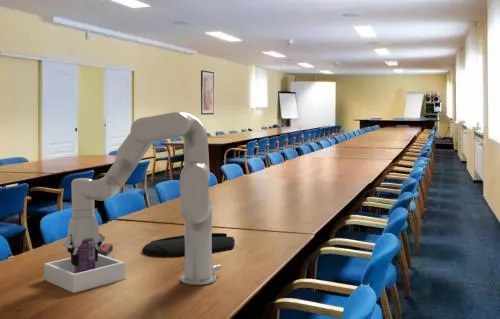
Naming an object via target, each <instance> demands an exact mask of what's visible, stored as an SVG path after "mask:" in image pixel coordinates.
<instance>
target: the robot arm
mask: <svg viewBox="0 0 500 319" xmlns="http://www.w3.org/2000/svg"><path fill="white" fill-rule="evenodd" d="M176 138H182V140H183V155H184V157H183V158H184V159H183V161H184V165H183V168H182V169H181V172H180V175H179V197H180V200H179V201H180V202H179V203H180V213H181V217H183V219H184V235H185V256H184V273H183V274H182V275H181V276H180V282H182V283H183V284H186V285H191V286H202V285H203V286H205V285H209V284H211V283H214V282H215V281H216V280H217V275H216V274H215V272H216V271H220V270H222V265H221V264H216V265H214V264H212V263H213V260H212V259H213V258H212V257H213V256H212V255H213V253H212V233H213V231H212V229H213V224H212V223H213V202H212V199H211V197H210V196H209V193H210V192H209V191H210V190H209V189H210V188H209V181H210V178H211V172H210V159H209V158H210V155H209V142H208V140H209V139H208V133H207V131H206V128H205V126H204V125H203V123H202V122H201V120H199V118H197V117H196V116H194V115H192V114H191V113H188V112H185V111H173V112H168V113H162V114H157V115H153V116H151V115H150V116H143V117H139V118H137V119H135V120H134V121H133V123H132V125H131V127H130V133H129V134H128V135H127V137H125V139H124V140H123V142H122V143H121V144H120V145H119V147H118V148H117V150H116V157H115V159H114V162H113V163H112V165H111V167H110V168H109V169H108V171H107V172H106V173H105V174H104V176H103V177H101V178H98V179H92V178H88V177H80V178H74V179H72V181H71V184H70V185H71V210H72V211H71V212H72V213H71V214H72V216H71V217H70V218H69V223H68V227H67V229H68V230H67V239H66V240H65V241H64V242H63V243H62V245H61V246H62V247H63V249H64V250H66V251H67V252H68V253H69V254H70V258H71V263H72V265H74V266H78V255H77V254H76V253H77V251H78V247H80V245H81V243H82V242H83V241H82V240H88V239H92V238H93V239H92V240H93V241H94V242H95V261H98V250H99V247H100V246H101V245H102V243H104V241H105V239H106V237H105V236H104V235H103V234H101V233H100V230H99V228H100V227H99V223H98V218H97V216H96V213H97V212H98V208H97V207H96V208H95V201H99V202H100V201H101V202H103V201H106V200H109V199H111V198H112V197H114V196H115V195H117V194H118V193H119V191H120V190H121V189H122V187H123V186H124V185H125V183H126V182H127V181H128V179H129V178H130V177H131V175H132V173H133V172H134V170H136V168H137V166H138V164H140V162H141V160H142V159H143V158H144V156H145V155H146V154H147V152H148V151H149V149H150V148H151V147H152V146H153V144H154V143H155V142H160V141H166V140H171V139H176ZM70 246H71V247H70ZM74 247H75V248H74Z"/></svg>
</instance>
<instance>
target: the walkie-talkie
mask: <svg viewBox="0 0 500 319" xmlns="http://www.w3.org/2000/svg"><path fill="white" fill-rule="evenodd" d="M113 245H114V244H112V243H106V242H102V245H101V246H100V247H99V250H98V254H101V255H104V256H107V257H108V255H110V253H111V252H112V251H113V250H114V249H113V248H114V247H113Z"/></svg>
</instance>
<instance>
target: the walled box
mask: <svg viewBox="0 0 500 319" xmlns="http://www.w3.org/2000/svg"><path fill="white" fill-rule="evenodd" d="M95 264H96V269H92V270H88V271H83V272H79V273H78V272H76V271H75V266H74V265H72V263H71V257H67V258H63V259H59V260H53V261H50V262H49V261H48V262H45V263H43V265H44V280H45V281H46V282H48V283H51V284H53V285H54V286H55V285H56V286H58V287H60V288H62V289H65V291H68V292H71V293H73V294H75V293H78V292H81V291H82V292H83V291H86V290H89V289H93V288H97V287H100V286H104V285H108V284H113V283H115V282H119V281H120V282H121V281H123V280H126V262H124V261H121V260H118V259H116V258H112V257H110V256H108V255H107V256H104V255H101V254H98V261H95Z"/></svg>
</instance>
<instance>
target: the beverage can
mask: <svg viewBox="0 0 500 319" xmlns="http://www.w3.org/2000/svg"><path fill="white" fill-rule="evenodd" d="M92 239H93V238H92ZM92 239H88V240H82V241H83V242H82V243H81V245H80V247H78V251H77V253H76V254H77V255H78V266H75V271H76V272H78V273H79V272H83V271H88V270H92V269H96V264H95V242H94V241H93V240H92ZM74 248H75V247H74Z"/></svg>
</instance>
